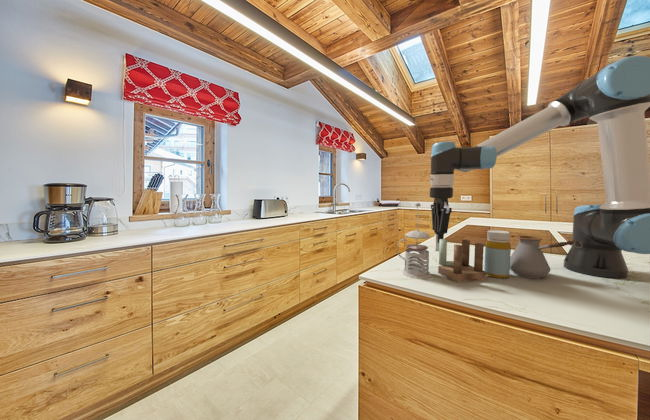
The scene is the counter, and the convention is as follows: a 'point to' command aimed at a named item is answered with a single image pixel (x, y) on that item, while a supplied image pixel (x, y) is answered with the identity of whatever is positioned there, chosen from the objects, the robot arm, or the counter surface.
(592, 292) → the counter surface
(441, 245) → the swing leg
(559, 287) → the counter surface
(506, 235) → the bottle
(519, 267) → the coffee pot
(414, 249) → the french press
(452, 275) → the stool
